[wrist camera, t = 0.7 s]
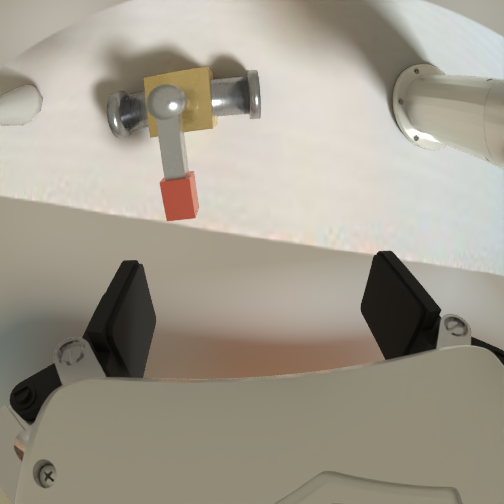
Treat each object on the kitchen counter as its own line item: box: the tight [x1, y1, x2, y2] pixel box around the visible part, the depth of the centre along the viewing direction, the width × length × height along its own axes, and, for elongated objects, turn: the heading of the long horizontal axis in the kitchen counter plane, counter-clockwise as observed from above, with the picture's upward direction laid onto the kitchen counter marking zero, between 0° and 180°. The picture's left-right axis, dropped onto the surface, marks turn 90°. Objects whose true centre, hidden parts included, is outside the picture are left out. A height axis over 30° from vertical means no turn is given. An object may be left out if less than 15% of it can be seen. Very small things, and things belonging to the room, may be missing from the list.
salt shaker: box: [0, 85, 43, 126], centre depth 20 cm, size 6×6×13 cm
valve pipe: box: [107, 67, 261, 138], centre depth 25 cm, size 16×6×9 cm, turn 94°
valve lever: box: [147, 84, 199, 221], centre depth 22 cm, size 12×3×3 cm, turn 4°
